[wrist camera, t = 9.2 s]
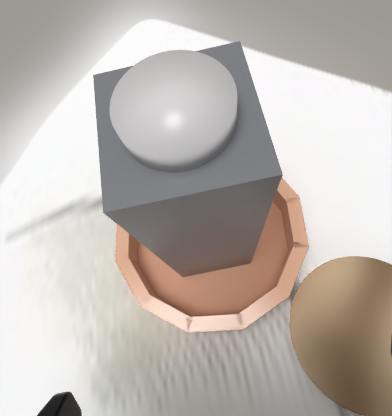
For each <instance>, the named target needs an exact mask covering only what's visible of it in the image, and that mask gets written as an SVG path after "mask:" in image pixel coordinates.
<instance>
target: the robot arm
mask: <svg viewBox="0 0 392 416" xmlns="http://www.w3.org/2000/svg"><path fill="white" fill-rule="evenodd" d="M390 351H391V356H392V337H391V350H390ZM37 416H82V414H81V409H80V407H79V405H78V403H77V402H76V400H75V398H74V396H73V395H72V393H71V392H63V393H58V394H56V395H54V396H53V397H52V398H51V399H50V400H49V402H48V403H47V404H46V405H45V406H44V408H43V409H42V410H41V411H40V413H39V414H38V415H37Z"/></svg>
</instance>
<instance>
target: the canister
mask: <svg viewBox="0 0 392 416" xmlns="http://www.w3.org/2000/svg"><path fill="white" fill-rule="evenodd" d="M93 77H94V90H95V104H96V118H97V131H98V145H99V159H100V173H101V186H102V200H103V213H104V214H106V215H107V216H108V217H109V218H111V219H112V220H113V221H114V222H116V223H117V224H118V225H119V226H120V227H122V228H123V229H124V230H125V231H127V232H128V233H129V234H130V235H132V236H133V237H134V238H135V239H136V240H138V241H139V242H140V243H141V244H143V245H144V246H145V247H146V248H148V249H149V250H150V251H151V252H152V253H154V254H155V255H156V256H157V257H159V258H160V259H161V260H162V261H163V262H165V263H166V264H167V265H168V266H170V267H171V268H172V269H173V270H175V271H176V272H177V273H178V274H179V275H181V276H182V277H187V276H192V275H197V274H202V273H207V272H212V271H217V270H222V269H227V268H231V267H236V266H241V265H246V264H251V261H252V258H253V255H254V253H255V250H256V247H257V244H258V242H259V239H260V236H261V233H262V230H263V228H264V225H265V222H266V219H267V217H268V214H269V211H270V208H271V205H272V203H273V200H274V197H275V194H276V192H277V189H278V186H279V183H280V180H281V178H282V175H283V174H282V171H281V168H280V165H279V162H278V159H277V156H276V153H275V149H274V146H273V143H272V140H271V137H270V134H269V131H268V127H267V124H266V121H265V118H264V115H263V112H262V109H261V106H260V102H259V99H258V96H257V93H256V90H255V87H254V84H253V81H252V77H251V74H250V71H249V68H248V65H247V62H246V59H245V55H244V52H243V49H242V46H241V43H240V41H238V42H234V43H230V44H226V45H221V46H217V47H213V48H208V49H204V50H200V51H189V50H173V51H167V52H162V53H158V54H155V55H152V56H150V57H148V58H146V59H144V60H142V61H140V62H139V63H137V64H136V65H134V66H131V67H126V68H122V69H118V70H113V71H109V72H105V73H101V74H96V75H93Z"/></svg>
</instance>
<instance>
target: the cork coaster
mask: <svg viewBox="0 0 392 416" xmlns="http://www.w3.org/2000/svg"><path fill="white" fill-rule="evenodd" d="M290 333H291V339H292V343H293V347H294V350H295V353H296V355H297V357H298V360H299V362H300V364H301V366H302V367H303V369H304V370H305V372H306V374H307V375H308V376H309V378H310V379H311V380H312V381H313V383H314V384H315V385H316V386H317V387H318V388H319V389H320V390H321V391H322V392H323V393H324V394H325V395H327V396H328V397H329V398H331V399H332V400H333V401H334V402H336V403H338V404H339V405H341V406H343V407H344V408H346V409H349V410H351V411H353V412H355V413H358V414H361V415H365V416H392V356H391V351H390V350H391V337H392V265H391V264H389V263H386V262H383V261H380V260H377V259H373V258H368V257H359V256H357V257H343V258H338V259H335V260H331V261H329V262H327V263H325V264H323V265H321V266H319V267H318V268H316V269H315V270H313V271H312V272H311V273H310V274H309V275H308V276H307V277H306V278H305V279H304V280H303V282H302V283H301V285H300V286H299V288H298V289H297V292H296V294H295V296H294V299H293V302H292V305H291V311H290Z"/></svg>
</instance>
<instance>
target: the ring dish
mask: <svg viewBox="0 0 392 416" xmlns="http://www.w3.org/2000/svg"><path fill="white" fill-rule="evenodd" d="M308 247H309V245H308V240H307V235H306V229H305V224H304V219H303V214H302V209H301V203H300V198H299V196H298V195H297V194H296V193H295V192H294V191H293V190H292V188H291V187H290V186H289V185H288V184H287V183H286V182H285V180H284V179H283V178H281V180H280V183H279V186H278V189H277V192H276V194H275V197H274V200H273V203H272V205H271V208H270V211H269V214H268V217H267V219H266V222H265V225H264V228H263V230H262V233H261V236H260V239H259V242H258V244H257V247H256V250H255V253H254V255H253V258H252V261H251V264H246V265H241V266H236V267H231V268H227V269H222V270H217V271H212V272H207V273H202V274H197V275H192V276H187V277H182V276H181V275H179V274H178V273H177V272H176V271H175V270H173V269H172V268H171V267H170V266H168V265H167V264H166V263H165V262H163V261H162V260H161V259H160V258H159V257H157V256H156V255H155V254H154V253H152V252H151V251H150V250H149V249H148V248H146V247H145V246H144V245H143V244H141V243H140V242H139V241H138V240H136V239H135V238H134V237H133V236H132V235H130V234H129V233H128V232H127V231H125V230H124V229H123V228H122V227H120V226H119V225H118V224H117V234H116V264H117V265H118V267H119V269H120V271H121V273H122V275H123V276H124V278H125V280H126V282H127V284H128V286H129V287H130V289H131V291H132V293H133V295H134V296H135V298H136V300H137V302H138V304H139V306H140V307H142V308H144V309H146V310H148V311H149V312H151V313H153V314H155V315H157V316H158V317H160V318H162V319H164V320H165V321H167V322H169V323H171V324H173V325H174V326H176V327H178V328H180V329H182V330H183V331H185V332H187V333H189V332H206V331H223V330H241V329H245V328H246V327H248V326H249V325H250V324H252V323H253V322H254V321H256V320H257V319H259V318H260V317H261V316H263V315H264V314H266V313H267V312H268V311H270V310H271V309H272V308H274V307H275V306H277V305H278V304H279V303H281V302H282V301H284V300H285V299H286V298H288V297H289V296H290V293H291V291H292V288H293V286H294V283H295V280H296V278H297V275H298V273H299V270H300V268H301V265H302V263H303V260H304V257H305V255H306V252H307V250H308Z"/></svg>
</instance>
